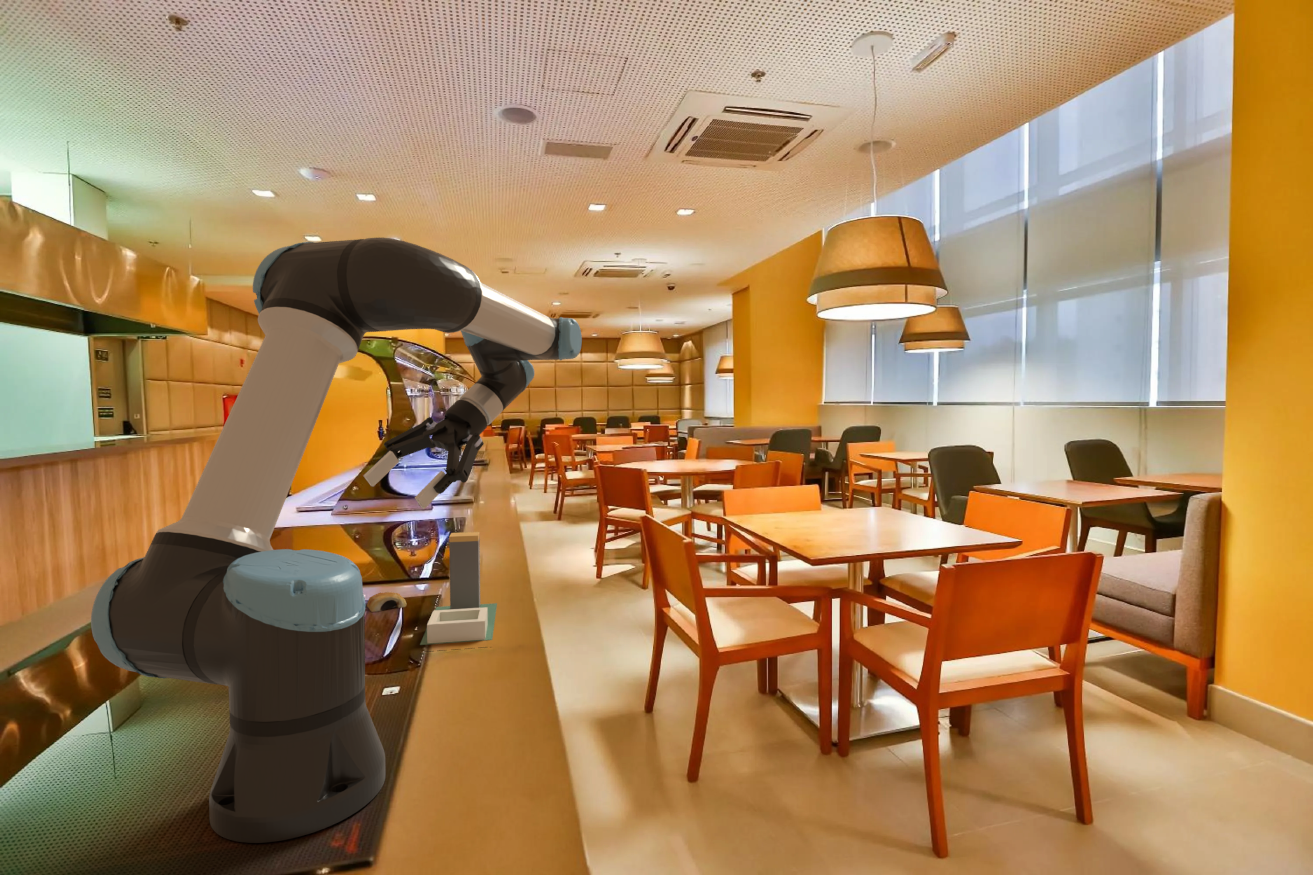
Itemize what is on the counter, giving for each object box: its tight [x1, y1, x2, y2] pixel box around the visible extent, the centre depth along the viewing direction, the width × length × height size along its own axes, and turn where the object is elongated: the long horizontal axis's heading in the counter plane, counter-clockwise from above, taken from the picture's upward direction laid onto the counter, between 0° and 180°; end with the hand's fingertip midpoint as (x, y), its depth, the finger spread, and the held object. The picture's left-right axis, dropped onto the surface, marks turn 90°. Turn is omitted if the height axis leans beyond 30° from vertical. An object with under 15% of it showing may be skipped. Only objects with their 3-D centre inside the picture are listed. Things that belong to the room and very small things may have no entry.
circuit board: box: [419, 602, 498, 653], centre depth 112 cm, size 20×11×1 cm, turn 12°
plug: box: [448, 531, 481, 609], centre depth 118 cm, size 4×5×14 cm
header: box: [426, 607, 488, 645], centre depth 106 cm, size 7×9×3 cm
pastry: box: [366, 591, 407, 613], centre depth 123 cm, size 9×7×4 cm
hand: (392, 492), depth 112 cm, fingers open, 13 cm apart
